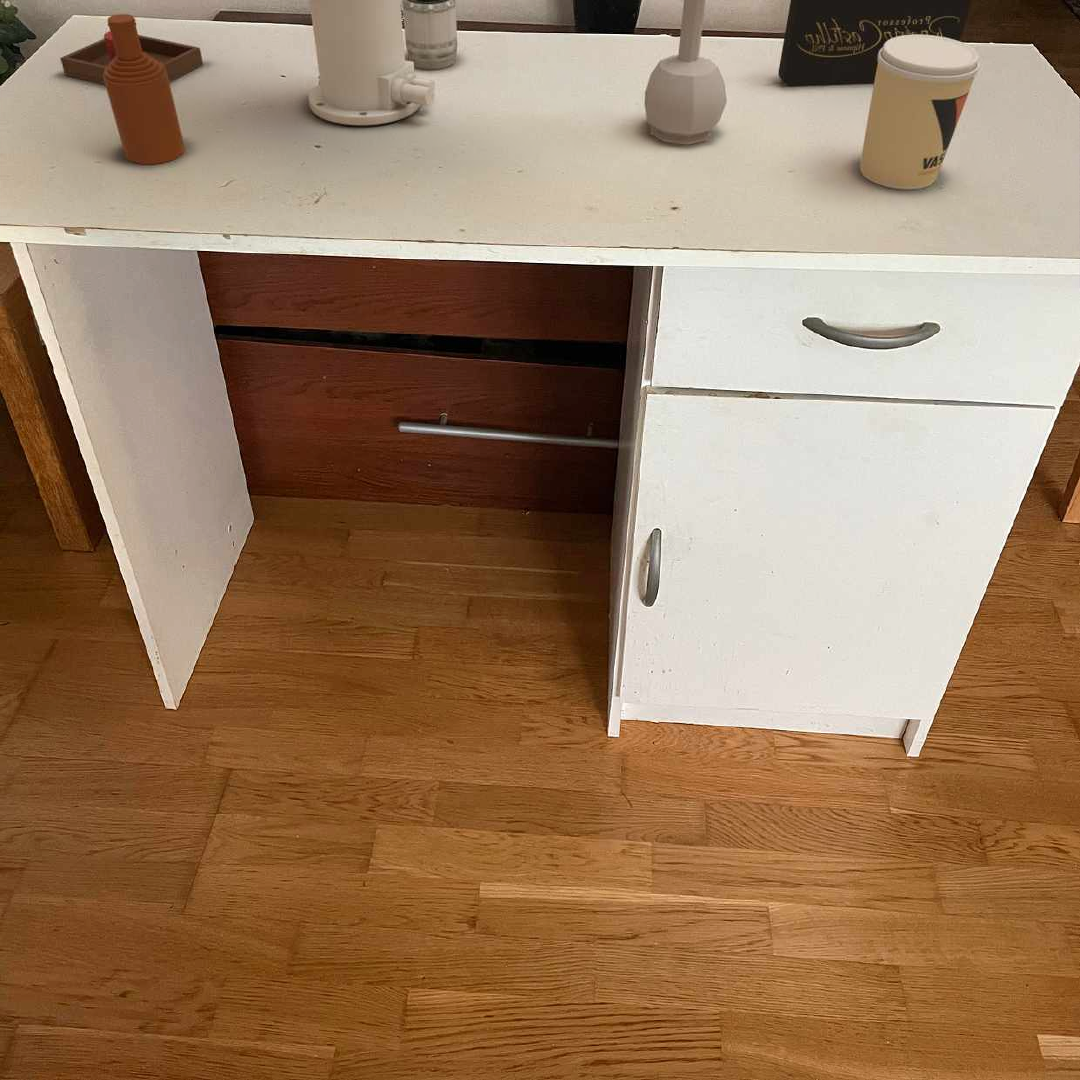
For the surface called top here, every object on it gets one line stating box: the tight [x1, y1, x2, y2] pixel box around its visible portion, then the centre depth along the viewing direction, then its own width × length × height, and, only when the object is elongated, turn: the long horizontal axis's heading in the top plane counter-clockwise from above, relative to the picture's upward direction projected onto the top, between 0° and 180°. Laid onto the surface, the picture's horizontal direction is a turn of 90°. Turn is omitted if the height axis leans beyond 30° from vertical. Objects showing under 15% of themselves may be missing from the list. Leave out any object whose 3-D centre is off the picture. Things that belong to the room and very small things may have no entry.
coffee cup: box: [859, 35, 981, 191], centre depth 100 cm, size 9×9×12 cm
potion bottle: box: [644, 0, 728, 145], centre depth 104 cm, size 9×9×18 cm
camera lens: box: [401, 0, 458, 70], centre depth 122 cm, size 6×6×8 cm
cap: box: [103, 30, 117, 61], centre depth 119 cm, size 4×4×4 cm
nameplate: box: [777, 0, 973, 88], centre depth 118 cm, size 21×2×10 cm, turn 98°
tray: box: [60, 34, 204, 85], centre depth 120 cm, size 12×10×2 cm
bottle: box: [103, 13, 186, 165], centre depth 101 cm, size 6×6×13 cm
